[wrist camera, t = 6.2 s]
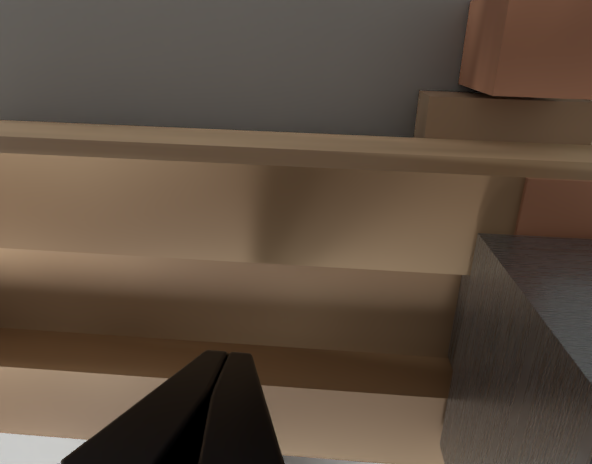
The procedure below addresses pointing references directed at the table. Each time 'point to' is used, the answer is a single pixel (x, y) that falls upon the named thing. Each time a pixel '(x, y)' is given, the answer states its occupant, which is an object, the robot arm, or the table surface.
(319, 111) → the table surface
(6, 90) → the table surface
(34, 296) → the light wood rectangular frame
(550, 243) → the grey block
